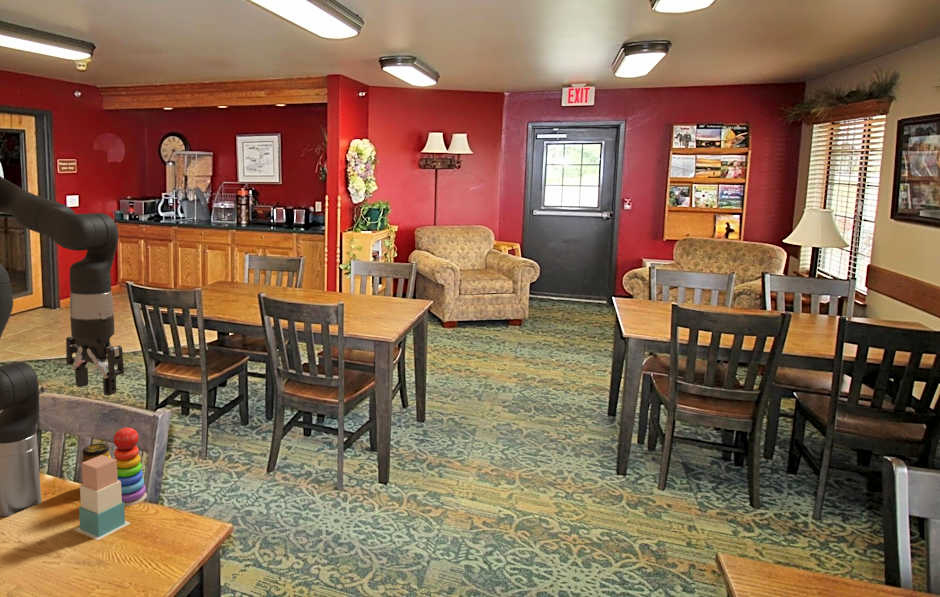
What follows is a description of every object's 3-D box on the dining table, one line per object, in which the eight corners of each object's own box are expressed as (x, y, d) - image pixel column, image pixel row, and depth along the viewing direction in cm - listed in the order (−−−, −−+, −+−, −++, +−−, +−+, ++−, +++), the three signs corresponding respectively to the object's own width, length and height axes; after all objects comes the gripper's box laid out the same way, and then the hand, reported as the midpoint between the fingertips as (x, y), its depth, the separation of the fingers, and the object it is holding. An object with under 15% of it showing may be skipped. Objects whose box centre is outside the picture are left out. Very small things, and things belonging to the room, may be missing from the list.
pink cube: (103, 476, 137) (102, 454, 136) (117, 481, 135) (116, 459, 134) (82, 485, 133) (81, 462, 132) (97, 490, 131) (96, 468, 130)
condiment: (115, 497, 150) (113, 450, 148) (73, 505, 145) (70, 457, 143) (112, 484, 156) (110, 438, 154) (72, 491, 151) (69, 445, 149)
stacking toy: (100, 507, 145) (96, 431, 141) (127, 492, 153) (124, 419, 149) (128, 514, 143) (125, 437, 139) (154, 498, 151) (152, 424, 147)
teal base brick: (80, 528, 134) (78, 507, 133) (106, 516, 140) (105, 495, 139) (98, 537, 132) (97, 515, 131) (125, 523, 137) (124, 502, 136)
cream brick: (81, 507, 134) (79, 485, 133) (104, 496, 138) (103, 474, 137) (98, 514, 131) (97, 491, 130) (121, 502, 136) (120, 481, 135)
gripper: (50, 311, 126) (55, 388, 129) (98, 322, 121) (102, 402, 124) (86, 305, 133) (90, 378, 136) (133, 315, 127) (136, 392, 130)
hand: (96, 390), depth 130 cm, fingers open, 8 cm apart
